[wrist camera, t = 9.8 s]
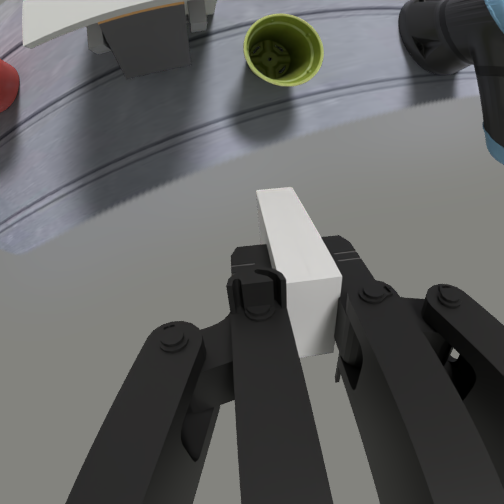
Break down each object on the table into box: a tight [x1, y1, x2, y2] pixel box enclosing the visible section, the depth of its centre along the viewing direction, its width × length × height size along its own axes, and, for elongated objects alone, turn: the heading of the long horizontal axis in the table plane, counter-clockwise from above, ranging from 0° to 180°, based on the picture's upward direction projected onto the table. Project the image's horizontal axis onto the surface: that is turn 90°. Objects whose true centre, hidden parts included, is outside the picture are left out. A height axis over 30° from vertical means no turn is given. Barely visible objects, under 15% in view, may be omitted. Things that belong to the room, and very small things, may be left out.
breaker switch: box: [97, 1, 191, 79], centre depth 24 cm, size 9×2×16 cm, turn 97°
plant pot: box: [243, 14, 324, 87], centre depth 34 cm, size 9×9×9 cm
